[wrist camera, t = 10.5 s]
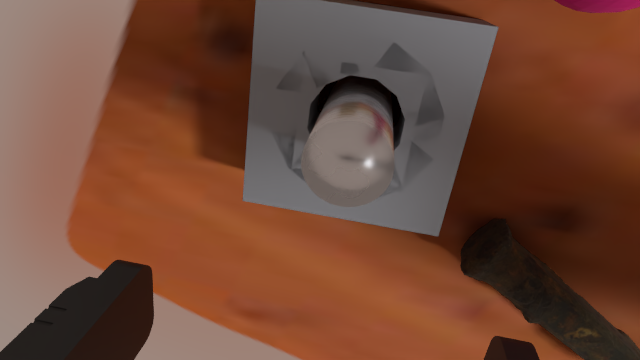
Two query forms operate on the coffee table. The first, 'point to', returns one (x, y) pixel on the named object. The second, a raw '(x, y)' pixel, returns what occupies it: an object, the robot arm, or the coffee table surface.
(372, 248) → the coffee table surface
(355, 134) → the round bit
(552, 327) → the hand tool
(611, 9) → the pepper mill
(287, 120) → the bore block
